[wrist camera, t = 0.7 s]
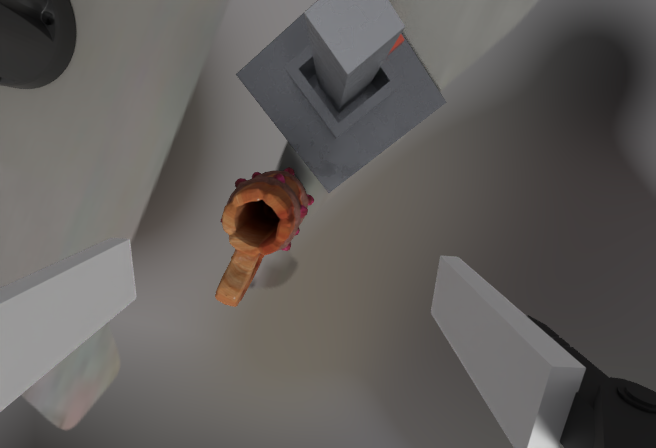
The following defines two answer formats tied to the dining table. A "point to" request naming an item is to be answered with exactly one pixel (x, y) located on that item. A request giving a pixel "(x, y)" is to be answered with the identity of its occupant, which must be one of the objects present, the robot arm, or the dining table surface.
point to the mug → (259, 226)
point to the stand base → (322, 117)
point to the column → (350, 44)
